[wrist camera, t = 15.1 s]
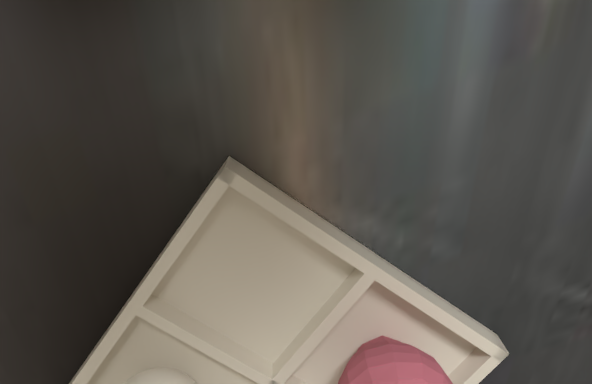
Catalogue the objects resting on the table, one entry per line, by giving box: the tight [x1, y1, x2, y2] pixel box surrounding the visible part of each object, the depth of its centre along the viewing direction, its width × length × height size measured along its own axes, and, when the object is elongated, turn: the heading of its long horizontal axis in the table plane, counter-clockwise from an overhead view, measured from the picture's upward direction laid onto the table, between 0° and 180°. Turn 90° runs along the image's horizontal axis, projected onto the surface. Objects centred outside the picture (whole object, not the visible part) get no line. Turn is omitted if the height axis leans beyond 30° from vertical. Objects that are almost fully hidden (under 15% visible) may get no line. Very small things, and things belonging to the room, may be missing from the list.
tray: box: [69, 156, 509, 384], centre depth 42 cm, size 27×27×2 cm
